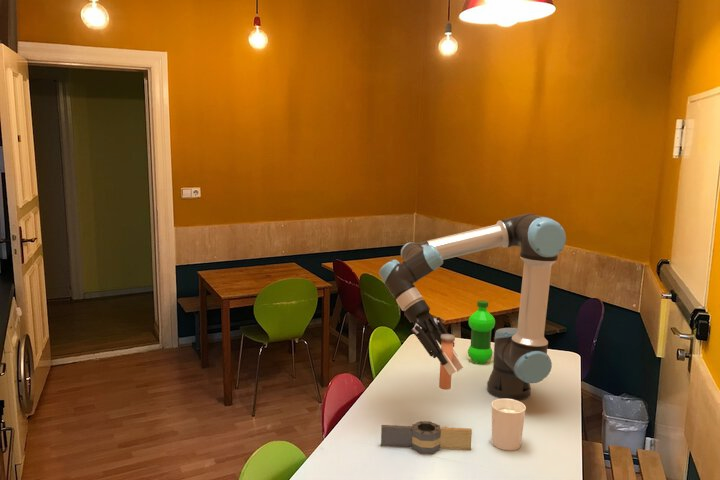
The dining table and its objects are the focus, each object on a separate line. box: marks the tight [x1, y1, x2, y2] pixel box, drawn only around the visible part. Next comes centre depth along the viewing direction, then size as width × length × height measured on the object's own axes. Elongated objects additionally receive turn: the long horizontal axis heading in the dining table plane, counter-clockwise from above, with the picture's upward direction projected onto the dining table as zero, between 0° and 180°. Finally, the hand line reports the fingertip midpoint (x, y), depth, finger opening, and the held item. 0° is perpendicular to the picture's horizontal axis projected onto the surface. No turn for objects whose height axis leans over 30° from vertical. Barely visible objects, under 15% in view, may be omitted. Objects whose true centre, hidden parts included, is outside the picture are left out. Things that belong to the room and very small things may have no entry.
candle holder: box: [490, 398, 527, 451], centre depth 173 cm, size 10×10×12 cm
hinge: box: [380, 420, 473, 455], centre depth 171 cm, size 26×8×6 cm, turn 87°
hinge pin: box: [438, 333, 456, 391], centre depth 176 cm, size 4×4×16 cm
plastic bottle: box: [467, 300, 496, 365], centre depth 238 cm, size 10×10×25 cm
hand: (457, 371), depth 174 cm, fingers closed on hinge pin, 3 cm apart
